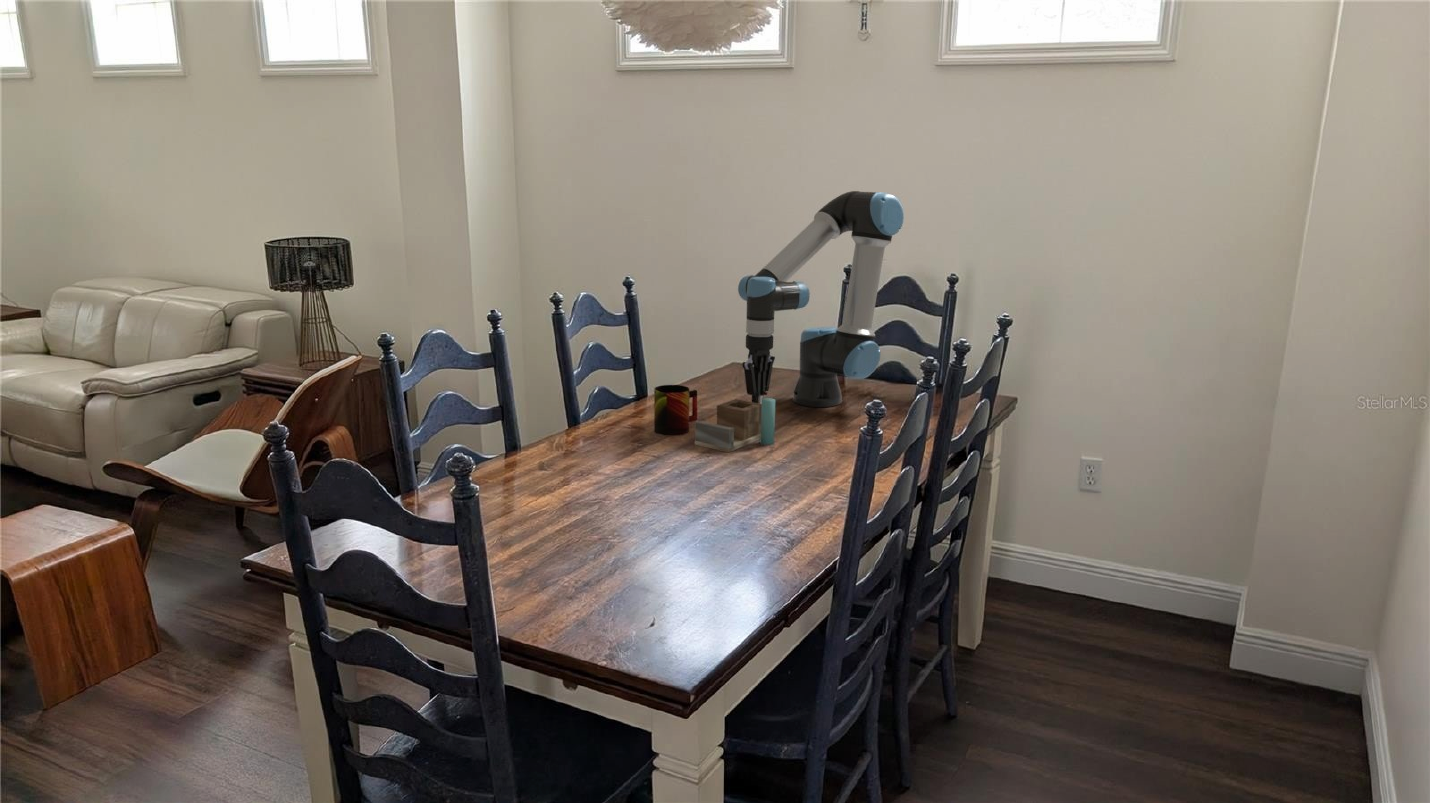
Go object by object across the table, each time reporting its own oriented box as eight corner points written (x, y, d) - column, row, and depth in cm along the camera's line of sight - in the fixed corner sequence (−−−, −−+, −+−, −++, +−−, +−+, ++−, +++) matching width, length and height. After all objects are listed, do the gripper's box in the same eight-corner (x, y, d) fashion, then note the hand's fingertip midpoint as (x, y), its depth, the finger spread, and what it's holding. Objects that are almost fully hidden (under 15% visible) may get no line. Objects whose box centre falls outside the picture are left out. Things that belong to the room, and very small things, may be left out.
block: (735, 426, 279) (735, 399, 277) (762, 432, 274) (763, 404, 271) (716, 434, 271) (716, 405, 269) (743, 440, 266) (744, 411, 264)
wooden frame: (733, 429, 280) (733, 408, 278) (766, 436, 274) (767, 415, 272) (694, 444, 266) (694, 422, 264) (728, 452, 259) (729, 430, 258)
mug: (697, 423, 285) (697, 382, 282) (683, 437, 272) (683, 394, 269) (665, 420, 287) (665, 380, 284) (649, 434, 274) (649, 391, 271)
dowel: (765, 440, 270) (766, 397, 267) (776, 442, 268) (777, 399, 265) (757, 443, 267) (759, 400, 264) (769, 446, 265) (770, 402, 262)
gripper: (761, 329, 280) (758, 410, 286) (734, 335, 270) (732, 420, 276) (784, 332, 276) (781, 415, 282) (757, 339, 266) (755, 425, 271)
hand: (757, 417), depth 279 cm, fingers closed
